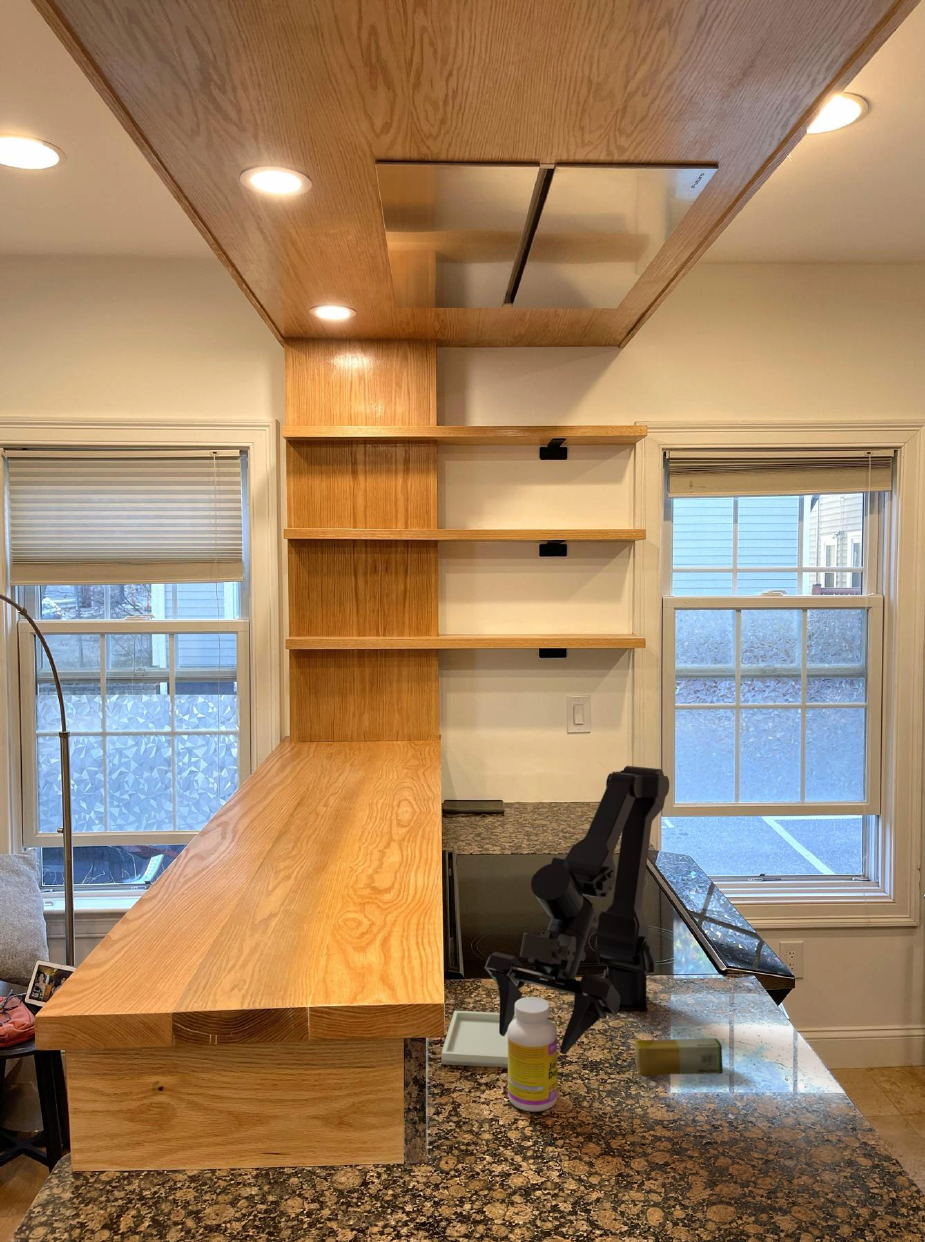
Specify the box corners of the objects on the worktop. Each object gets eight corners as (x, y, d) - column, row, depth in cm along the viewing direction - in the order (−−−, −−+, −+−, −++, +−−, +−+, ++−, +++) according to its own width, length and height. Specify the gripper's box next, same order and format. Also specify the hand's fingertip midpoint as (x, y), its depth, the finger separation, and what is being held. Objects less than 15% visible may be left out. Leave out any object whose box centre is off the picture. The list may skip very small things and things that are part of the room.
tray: (537, 1024, 137) (537, 1014, 137) (532, 1069, 124) (532, 1058, 123) (454, 1020, 138) (454, 1010, 138) (441, 1064, 125) (441, 1053, 125)
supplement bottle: (555, 1116, 112) (554, 1018, 112) (504, 1111, 114) (503, 1014, 113) (559, 1088, 119) (559, 995, 118) (512, 1083, 120) (510, 991, 120)
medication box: (718, 1064, 125) (717, 1037, 125) (723, 1074, 122) (723, 1046, 122) (634, 1066, 125) (634, 1038, 125) (638, 1076, 122) (638, 1047, 122)
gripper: (490, 895, 125) (449, 1001, 116) (611, 920, 115) (576, 1037, 106) (517, 932, 132) (480, 1035, 123) (634, 958, 122) (602, 1072, 113)
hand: (531, 1043), depth 116 cm, fingers open, 9 cm apart
